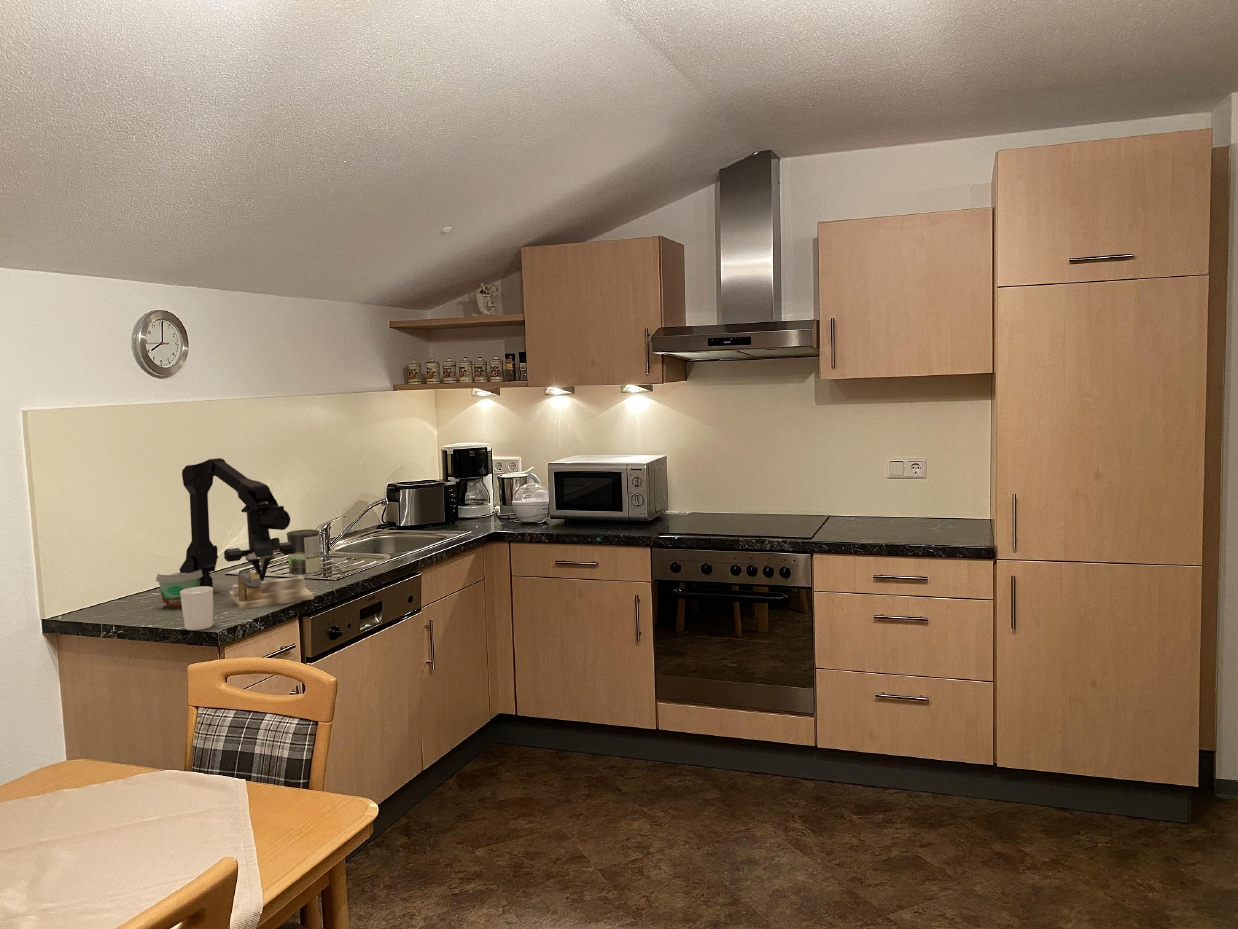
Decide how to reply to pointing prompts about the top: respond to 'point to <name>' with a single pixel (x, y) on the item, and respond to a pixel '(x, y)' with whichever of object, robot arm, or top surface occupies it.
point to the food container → (176, 587)
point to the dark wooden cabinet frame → (250, 578)
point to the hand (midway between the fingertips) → (261, 580)
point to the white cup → (197, 607)
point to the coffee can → (304, 553)
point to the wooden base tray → (270, 592)
